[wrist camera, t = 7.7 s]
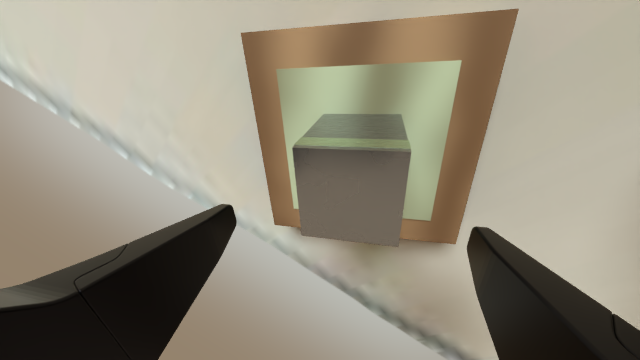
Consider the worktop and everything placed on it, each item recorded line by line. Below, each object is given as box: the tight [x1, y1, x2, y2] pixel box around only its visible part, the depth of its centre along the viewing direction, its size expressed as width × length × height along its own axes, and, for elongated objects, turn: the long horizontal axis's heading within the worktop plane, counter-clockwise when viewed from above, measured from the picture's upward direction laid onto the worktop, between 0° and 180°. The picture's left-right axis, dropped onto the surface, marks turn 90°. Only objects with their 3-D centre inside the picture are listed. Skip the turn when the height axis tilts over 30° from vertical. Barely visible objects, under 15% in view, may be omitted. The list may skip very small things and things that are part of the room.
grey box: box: [292, 114, 411, 247], centre depth 13 cm, size 5×5×6 cm
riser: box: [241, 9, 519, 244], centre depth 17 cm, size 14×14×3 cm
